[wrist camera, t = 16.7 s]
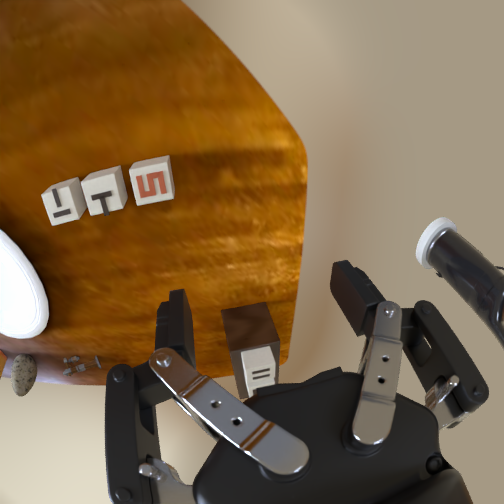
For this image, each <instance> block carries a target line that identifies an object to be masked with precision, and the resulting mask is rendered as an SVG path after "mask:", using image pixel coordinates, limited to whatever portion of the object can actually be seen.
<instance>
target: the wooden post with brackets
mask: <svg viewBox="0 0 504 504" xmlns="http://www.w3.org/2000/svg"><path fill="white" fill-rule="evenodd" d="M63 358H64V363H65V366H66V370H65V372H63V375H67V376H71V375H73V373H76V372H78V373H79V372H80V371H84V370H86V369H88V368H92V367H99V368H101V366H100V363H99V361H98V358H97V356H95V359H94V360H92V361H90V362H88V363H86V364H81V365H78V366H76V367H74V368H73V367H71V366H70V365H68V362H70V363H71V362H73V364H74V362H78V360H79V359H80V358H79V357H76V356H74V357H71V359H69V360H68V361H67V359H66V357H63ZM69 367H71V369H70V368H69Z"/></svg>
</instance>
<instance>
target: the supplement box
mask: <svg viewBox="0 0 504 504" xmlns="http://www.w3.org/2000/svg"><path fill="white" fill-rule="evenodd" d="M6 360H7V357H6V356H5V355H4V354H3V352H2V351H1V350H0V378H1V375H2V372H3V369H4V366H5V363H6Z"/></svg>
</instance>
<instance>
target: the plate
mask: <svg viewBox="0 0 504 504" xmlns="http://www.w3.org/2000/svg"><path fill="white" fill-rule="evenodd" d="M48 318H49V306H48V299H47V296H46V293H45V290H44V287H43V283H42V282H41V280H40V278H39V276H38V274H37V272H36V271H35V269H34V267H33V265H32V263H31V262H30V261H29V260H28V258H27V257H26V255H25V254H24V253H23V251H22V250H21V249H20V247H19V246H18V245H17V244H16V243H15V242H14V241H13V240H12V239H11V238H10V237H9V236H8V235H7V234H6V233H5V232H4V231H3V230H1V229H0V333H2V334H4V335H6V336H10V337H14V338H19V339H22V338H32V337H34V336H36V335H39V334H40V333H41V332H42V331H43V330H44V328H45V327H46V325H47V321H48Z"/></svg>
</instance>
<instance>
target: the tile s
mask: <svg viewBox="0 0 504 504" xmlns="http://www.w3.org/2000/svg"><path fill="white" fill-rule="evenodd" d="M129 173H130V178H131V182H132V186H133V191H134V195H135V199H136V203H137V206H139V205H144V204H149V203H154V202H159V201H164V200H169V199H174V192H175V187H174V181H173V176H172V170H171V164H170V158H169V155H168V156H163V157H158V158H153V159H148V160H144V161H139V162H135V163H134V164H133V165H132V166H131V168H130V169H129Z"/></svg>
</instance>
